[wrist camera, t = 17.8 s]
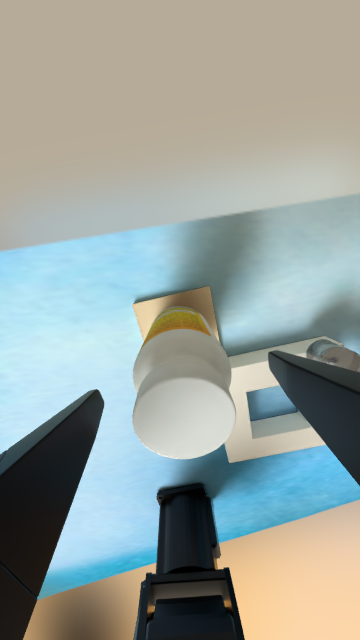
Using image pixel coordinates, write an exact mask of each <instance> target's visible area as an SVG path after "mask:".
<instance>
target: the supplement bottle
mask: <svg viewBox="0 0 360 640" xmlns="http://www.w3.org/2000/svg"><path fill="white" fill-rule="evenodd" d="M231 377H232V372H231V365H230V361H229V358H228V356H227V354H226V352H225V350H224V349H223V347H222V346H221V344H220V342H219V341H218V339H217V338H216V336H215V334H214V333H213V331H212V330H211V328H210V326H209V325H208V323H207V321H206V320H205V318H204V317H203V316H202V315H201V314H200V313H199V312H197V311H195V310H194V309H191V308H188V307H172V308H169V309H166V310H165V311H163V312H162V313H160V314H159V315H158V316H157V317H156V319H155V320H154V322H153V324H152V326H151V328H150V330H149V332H148V334H147V336H146V339H145V341H144V343H143V345H142V347H141V350H140V352H139V354H138V356H137V358H136V361H135V364H134V369H133V382H134V386H135V390H136V392H137V398H136V402H135V406H134V410H133V426H134V430H135V433H136V435H137V437H138V438H139V440H140V441H141V442H142V443H143V445H145V446H146V447H147V448H148V449H150V450H151V451H153V452H155V453H156V454H159V455H161V456H164V457H168V458H175V459H191V458H196V457H200V456H203V455H206V454H208V453H210V452H212V451H214V450H216V449H217V448H219V447H220V446H221V445H222V444H223V443H225V441H226V440H227V439H228V438H229V436H230V435H231V433H232V431H233V429H234V426H235V423H236V407H235V404H234V401H233V399H232V396H231V394H230V392H229V388H230V384H231Z"/></svg>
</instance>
